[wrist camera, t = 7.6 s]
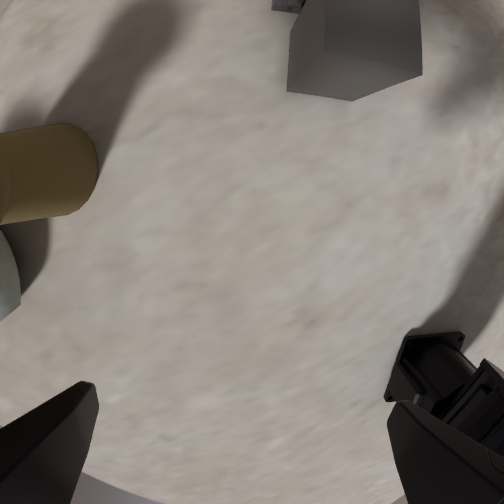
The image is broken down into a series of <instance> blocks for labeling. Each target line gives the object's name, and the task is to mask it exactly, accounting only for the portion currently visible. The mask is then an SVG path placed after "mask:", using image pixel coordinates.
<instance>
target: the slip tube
mask: <svg viewBox="0 0 504 504" xmlns="http://www.w3.org/2000/svg"><path fill="white" fill-rule="evenodd" d="M421 75H422V41H421V25H420V13H419V3H418V0H306V2H305V4H304V6H303V8H302V10H301V12H300V14H299V16H298V18H297V20H296V22H295V24H294V26H293V28H292V30H291V32H290V48H289V64H288V79H287V92H295V93H303V94H310V95H317V96H323V97H330V98H336V99H341V100H347V101H355V100H357V99H359V98H362V97H364V96H367V95H370V94H372V93H375V92H377V91H380V90H382V89H385V88H388V87H390V86H393V85H396V84H399V83H401V82H404V81H407V80H410V79H412V78H415V77H418V76H421Z"/></svg>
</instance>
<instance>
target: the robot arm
mask: <svg viewBox="0 0 504 504" xmlns="http://www.w3.org/2000/svg"><path fill="white" fill-rule="evenodd" d="M464 338H465V335H464V334H463V333H462V332H451V333H441V334H429V335H416V336H408V337H406V338H405V339H404V340H403V342H402V346H401V349H400V352H399V355H398V358H397V361H396V363H395V366H394V369H393V371H392V374H391V377H390V380H389V383H388V385H387V389H386V392H385V394H384V399H385V401H386V402H394V401H396V404H395V405H394V408H393V410H392V412H391V414H390V416H389V418H388V420H387V428H388V433H389V437H390V441H391V446H392V451H393V455H394V460H395V464H396V467H397V470H398V473H399V476H400V480H401V483H402V486H403V489H404V492H405V495H406V498H407V501H408V504H504V372H503V371H502V370H501V369H499V368H498V367H496V366H495V365H494V364H492V363H491V362H489V361H488V360H486V359H485V358H484V359H483V360H482V362H481V363H480V366H479V367H478V369H477V368H476V367H475V366H474V365H473V364H472V363H471V362H470V361H469V360H468V359H467V358H466V357H465V356H464V355H463V354H462V353H461V352H460V349H461V347H462V344H463V341H464ZM409 342H410V343H409ZM408 343H409V344H408ZM98 411H99V402H98V398H97V393H96V388H95V385H94V384H93V383H90V382H86V381H80V382H78V383H76V384H74V385H73V386H71V387H70V388H68V389H66V390H65V391H63V392H61V393H60V394H58V395H56V396H55V397H53V398H51V399H50V400H48V401H46V402H45V403H43V404H41V405H40V406H38V407H36V408H35V409H33V410H31V411H29V412H28V413H26V414H24V415H23V416H21V417H19V418H18V419H16V420H14V421H13V422H11V423H9V424H7V425H6V426H4V427H2V428H1V429H0V504H70V502H71V499H72V497H73V494H74V491H75V488H76V485H77V482H78V479H79V476H80V474H81V471H82V468H83V465H84V463H85V460H86V457H87V454H88V451H89V447H90V443H91V439H92V434H93V430H94V426H95V422H96V418H97V415H98Z"/></svg>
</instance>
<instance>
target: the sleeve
mask: <svg viewBox="0 0 504 504" xmlns="http://www.w3.org/2000/svg"><path fill="white" fill-rule="evenodd" d="M305 2H306V0H272V9H271V10H276V11H284V12H291V13H298V14H300V12H301V10H302V8H303V6H304V4H305Z"/></svg>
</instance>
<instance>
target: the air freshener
mask: <svg viewBox="0 0 504 504" xmlns="http://www.w3.org/2000/svg"><path fill="white" fill-rule="evenodd" d="M20 303H21V288H20V279H19V274H18V269H17V265H16V262H15V258H14V255H13V253H12V250H11V248H10V245H9V244H8V242H7V240H6V238H5V236H4V234H3V233H2V231H1V230H0V321H2V320H3V319H4V318H5V317H6V316H8V315H9V314H10V313H11V312H12V311H14V310H15V309H16V308H17V307H18V306H19V305H20Z"/></svg>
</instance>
